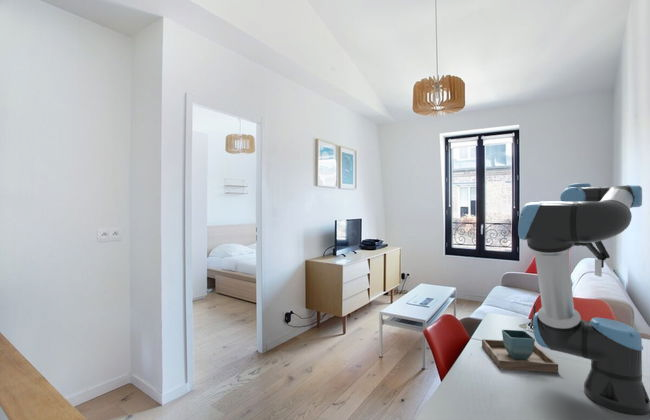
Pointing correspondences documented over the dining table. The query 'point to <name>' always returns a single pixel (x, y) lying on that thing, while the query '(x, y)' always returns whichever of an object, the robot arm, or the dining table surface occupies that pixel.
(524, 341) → the flower pot
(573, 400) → the dining table surface
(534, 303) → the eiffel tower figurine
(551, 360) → the box
